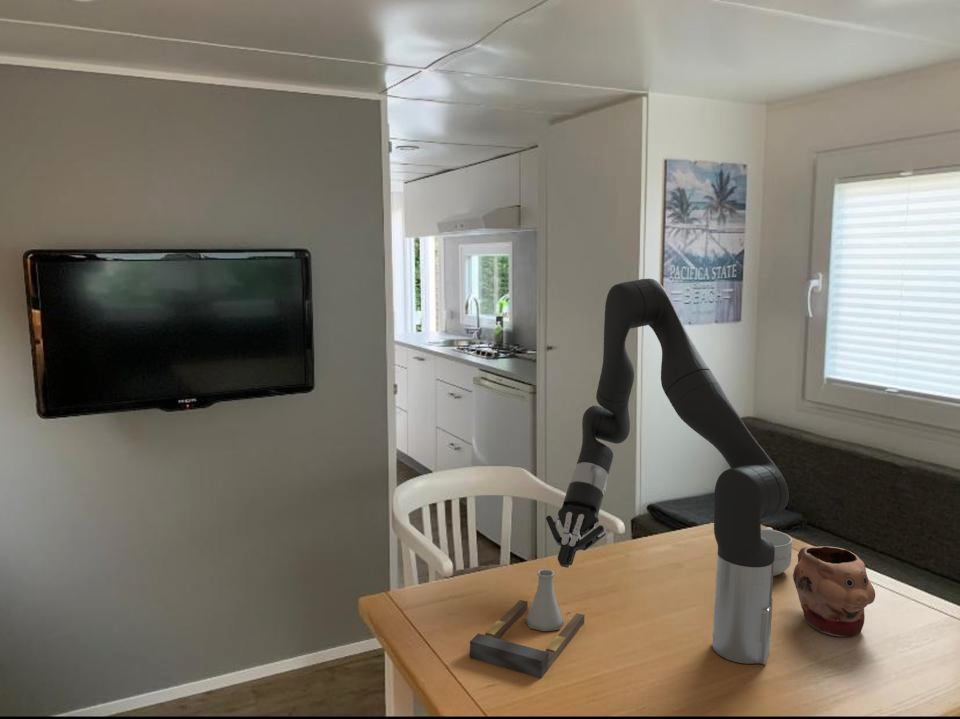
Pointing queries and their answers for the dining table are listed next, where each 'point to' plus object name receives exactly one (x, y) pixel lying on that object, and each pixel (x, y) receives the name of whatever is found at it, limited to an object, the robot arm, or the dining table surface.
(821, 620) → the decorative planter
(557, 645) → the guide track
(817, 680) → the dining table surface
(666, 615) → the dining table surface
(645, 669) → the dining table surface
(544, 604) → the flask
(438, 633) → the dining table surface
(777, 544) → the teacup
